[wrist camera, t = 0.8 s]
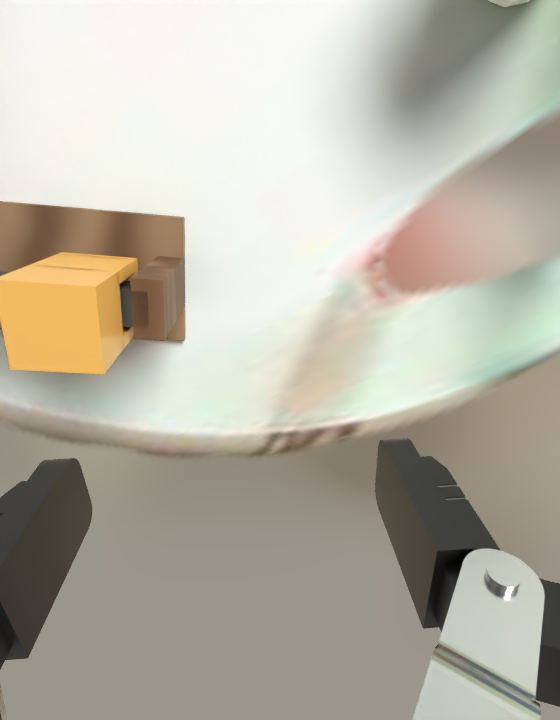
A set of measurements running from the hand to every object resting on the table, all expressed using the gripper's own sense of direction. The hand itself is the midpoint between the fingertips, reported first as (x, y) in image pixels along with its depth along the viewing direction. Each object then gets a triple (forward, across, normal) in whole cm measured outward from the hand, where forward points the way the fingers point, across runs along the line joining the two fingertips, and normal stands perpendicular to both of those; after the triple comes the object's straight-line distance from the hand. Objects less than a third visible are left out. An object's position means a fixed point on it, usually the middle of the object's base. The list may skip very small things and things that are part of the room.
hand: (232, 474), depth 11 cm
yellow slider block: (+20, +10, 0) cm, 23 cm away
